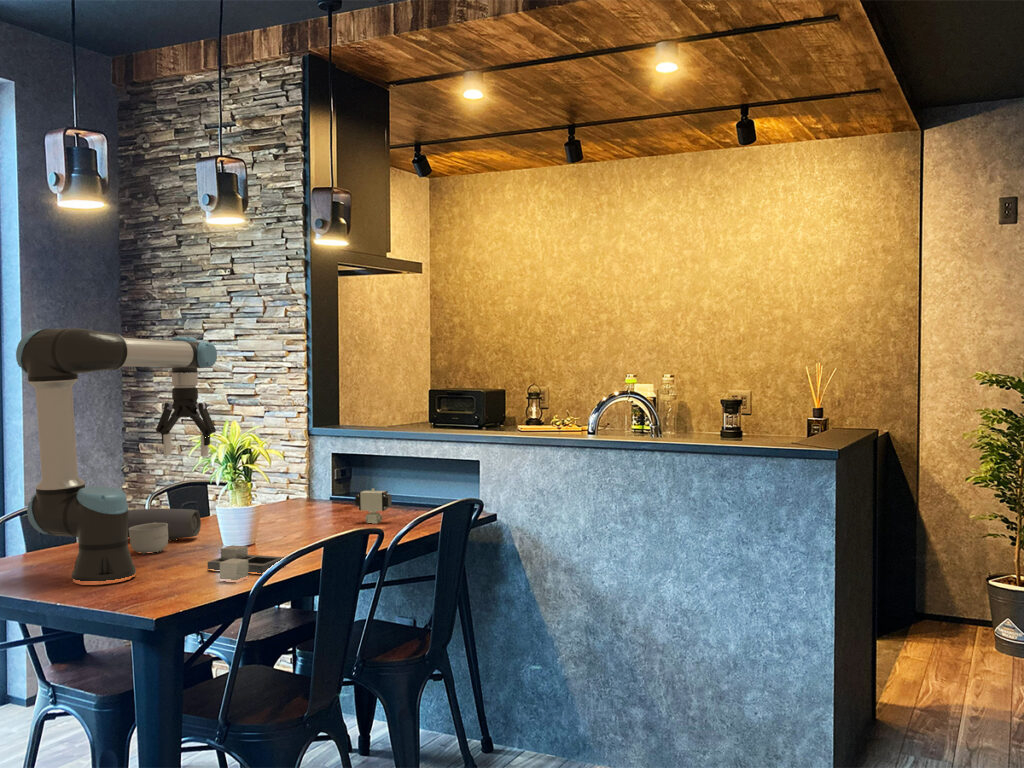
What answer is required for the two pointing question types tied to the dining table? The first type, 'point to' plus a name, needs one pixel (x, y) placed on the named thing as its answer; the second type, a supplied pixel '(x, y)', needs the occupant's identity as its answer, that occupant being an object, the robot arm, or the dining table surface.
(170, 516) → the bluetooth speaker
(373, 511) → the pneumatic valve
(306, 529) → the dining table surface
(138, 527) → the teacup
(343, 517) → the dining table surface
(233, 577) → the beige cube
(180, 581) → the dining table surface
